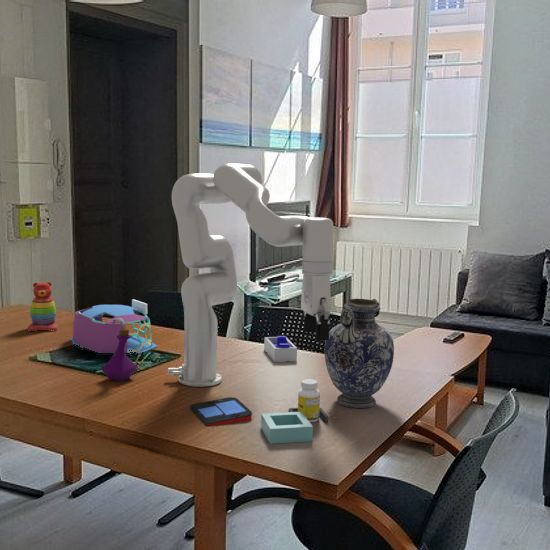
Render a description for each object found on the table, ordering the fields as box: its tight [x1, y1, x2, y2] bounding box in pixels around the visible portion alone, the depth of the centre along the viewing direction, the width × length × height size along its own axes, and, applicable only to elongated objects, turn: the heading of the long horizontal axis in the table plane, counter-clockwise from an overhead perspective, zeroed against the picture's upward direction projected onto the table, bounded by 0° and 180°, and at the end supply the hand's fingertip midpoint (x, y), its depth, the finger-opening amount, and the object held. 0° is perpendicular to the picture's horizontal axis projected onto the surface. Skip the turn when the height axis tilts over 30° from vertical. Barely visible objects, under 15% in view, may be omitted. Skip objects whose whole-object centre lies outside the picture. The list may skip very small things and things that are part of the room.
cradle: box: [287, 407, 329, 423], centre depth 170 cm, size 9×7×2 cm
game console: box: [189, 396, 253, 427], centre depth 172 cm, size 14×13×2 cm
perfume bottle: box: [101, 318, 138, 382], centre depth 196 cm, size 8×8×18 cm
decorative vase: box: [324, 298, 395, 409], centre depth 182 cm, size 21×19×28 cm
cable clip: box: [273, 335, 289, 348], centre depth 227 cm, size 12×4×6 cm, turn 4°
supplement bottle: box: [297, 378, 321, 423], centre depth 169 cm, size 5×5×10 cm
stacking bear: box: [26, 282, 59, 332], centre depth 256 cm, size 11×10×18 cm
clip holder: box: [263, 336, 298, 363], centre depth 229 cm, size 8×16×4 cm, turn 13°
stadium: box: [69, 299, 158, 354], centre depth 237 cm, size 35×24×14 cm
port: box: [260, 411, 314, 445], centre depth 159 cm, size 10×10×4 cm
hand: (316, 335), depth 169 cm, fingers open, 9 cm apart
